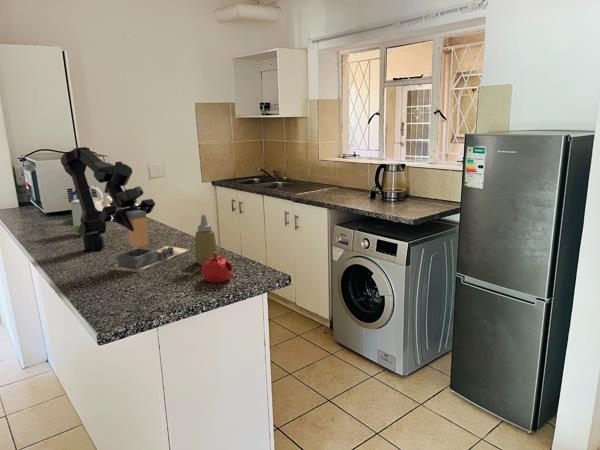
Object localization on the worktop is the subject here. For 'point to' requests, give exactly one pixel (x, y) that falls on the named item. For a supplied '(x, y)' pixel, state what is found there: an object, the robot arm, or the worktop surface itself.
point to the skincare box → (77, 214)
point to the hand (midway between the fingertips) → (139, 229)
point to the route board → (145, 258)
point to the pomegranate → (217, 269)
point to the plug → (137, 228)
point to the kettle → (99, 199)
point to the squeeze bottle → (204, 242)
